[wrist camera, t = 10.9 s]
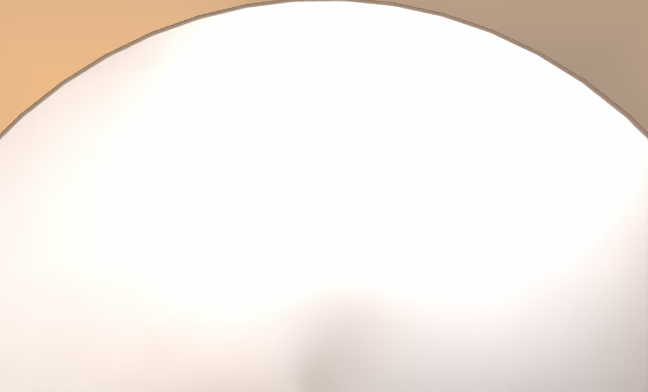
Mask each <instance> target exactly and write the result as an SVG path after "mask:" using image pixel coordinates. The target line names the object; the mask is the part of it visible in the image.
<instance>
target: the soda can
mask: <svg viewBox="0 0 648 392" xmlns="http://www.w3.org/2000/svg"><path fill="white" fill-rule="evenodd" d="M0 392H648V132H647V131H645V129H644V128H642V127H641V125H640V124H639V123H638V122H636V120H634V118H632V117H631V116H630V115H629V114H628V113H627V112H626V111H624V110H623V109H622V108H621V107H619V106H618V105H617V104H615V103H614V102H613V101H611V100H610V99H609V98H608V97H606V96H605V95H604V94H603V93H601V92H600V91H599V90H597V89H596V88H595V87H594V86H592V85H591V84H590V83H589V82H587V81H586V80H585V79H583V78H581V77H580V76H578V75H576V74H574V73H573V72H571V71H570V70H568V69H566V68H565V67H563V66H562V65H560V64H558V63H557V62H555V61H553V60H552V59H550V58H549V57H547V56H545V55H544V54H542V53H540V52H539V51H537V50H534V49H532V48H530V47H528V46H526V45H524V44H522V43H519V42H517V41H515V40H513V39H511V38H509V37H507V36H504V35H502V34H500V33H498V32H496V31H494V30H491V29H488V28H485V27H483V26H479V25H476V24H474V23H471V22H468V21H465V20H462V19H459V18H456V17H452V16H450V15H447V14H444V13H440V12H435V11H430V10H425V9H421V8H416V7H411V6H407V5H403V4H397V3H392V2H382V1H372V0H277V1H268V2H261V3H252V4H245V5H241V6H237V7H232V8H228V9H224V10H220V11H216V12H211V13H207V14H203V15H199V16H196V17H193V18H190V19H188V20H184V21H181V22H179V23H176V24H173V25H170V26H167V27H165V28H162V29H159V30H156V31H153V32H151V33H149V34H147V35H144V36H142V37H140V38H138V39H136V40H134V41H132V42H130V43H128V44H126V45H124V46H122V47H120V48H118V49H115V50H114V51H112V52H109V53H107V54H105V55H104V56H102V57H101V58H99V59H97V60H96V61H94V62H93V63H91V64H89V65H88V66H86V67H85V68H83V69H81V70H80V71H78V72H77V73H75V74H73V75H72V76H70V77H68V78H67V79H65V80H64V81H62V82H61V83H60V84H58V85H57V86H56V87H54V88H53V89H52V90H51V91H49V92H48V93H47V94H46V95H44V96H43V97H42V98H40V99H39V100H38V101H37V102H35V103H34V104H33V105H32V106H30V107H29V108H28V109H26V110H25V111H24V112H23V113H21V114H20V115H19V116H18V117H17V118H16V119H15V120H14V121H13V122H12V123H11V124H10V125H9V126H8V127H7V128H6V129H5V130H4V131H3V132H2V133H1V134H0Z"/></svg>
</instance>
